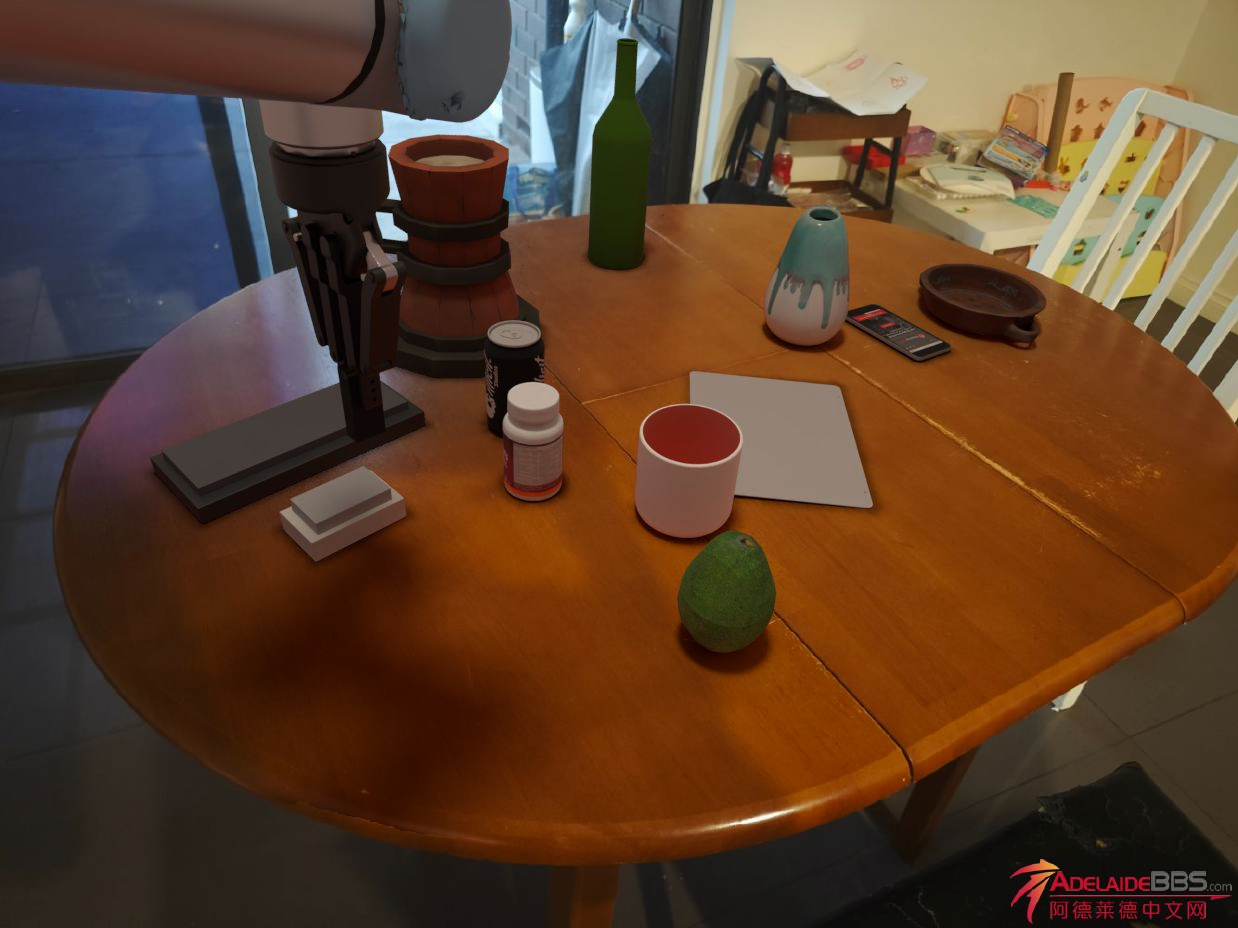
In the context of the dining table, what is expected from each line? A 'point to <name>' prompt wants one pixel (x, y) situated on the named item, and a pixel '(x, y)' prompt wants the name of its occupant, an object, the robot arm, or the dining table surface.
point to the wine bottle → (620, 171)
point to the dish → (983, 300)
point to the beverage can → (510, 364)
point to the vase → (811, 280)
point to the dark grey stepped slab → (273, 450)
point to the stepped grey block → (341, 512)
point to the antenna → (788, 438)
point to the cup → (687, 469)
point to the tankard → (451, 252)
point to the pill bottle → (533, 442)
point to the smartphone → (897, 332)
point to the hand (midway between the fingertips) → (366, 433)
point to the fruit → (727, 593)
